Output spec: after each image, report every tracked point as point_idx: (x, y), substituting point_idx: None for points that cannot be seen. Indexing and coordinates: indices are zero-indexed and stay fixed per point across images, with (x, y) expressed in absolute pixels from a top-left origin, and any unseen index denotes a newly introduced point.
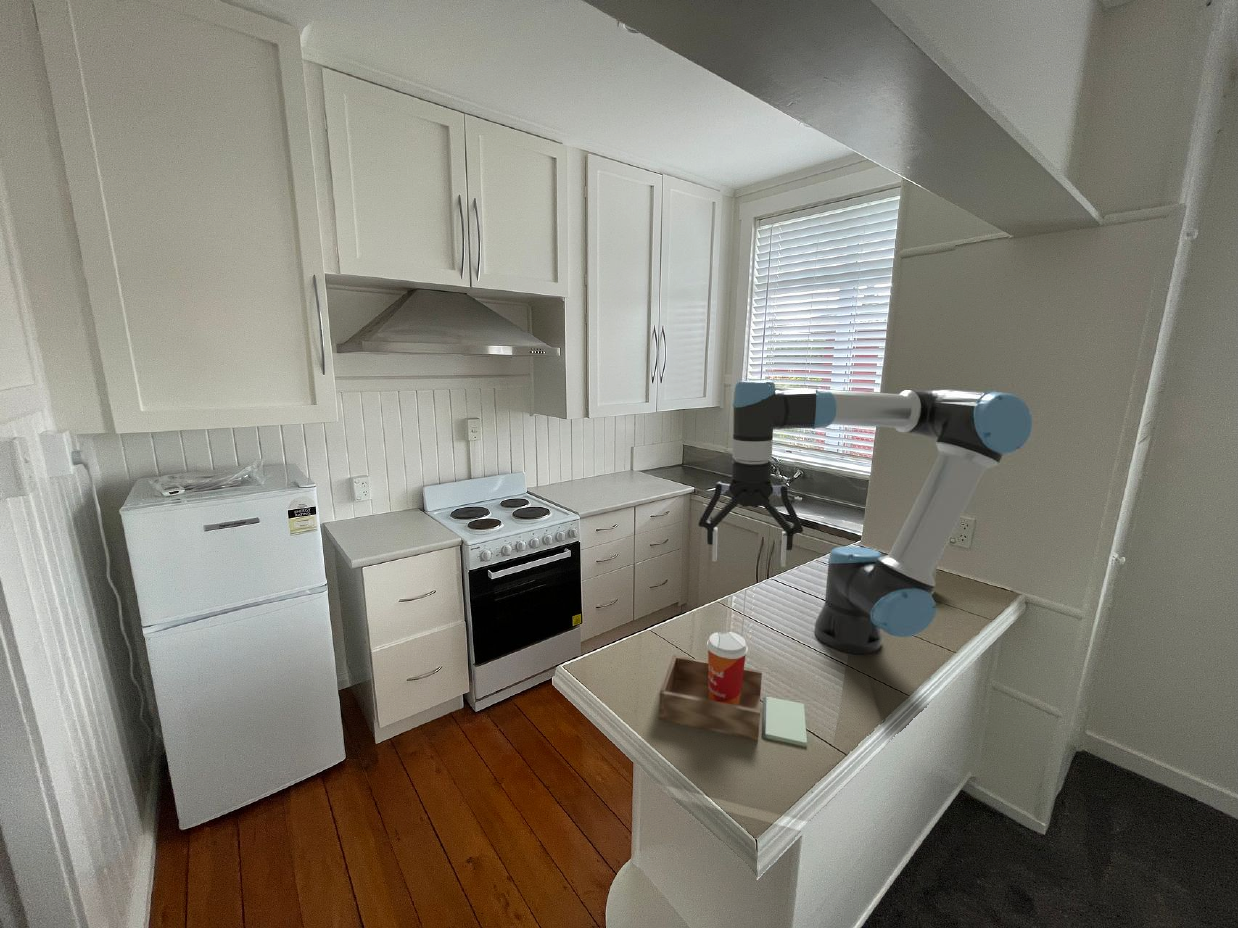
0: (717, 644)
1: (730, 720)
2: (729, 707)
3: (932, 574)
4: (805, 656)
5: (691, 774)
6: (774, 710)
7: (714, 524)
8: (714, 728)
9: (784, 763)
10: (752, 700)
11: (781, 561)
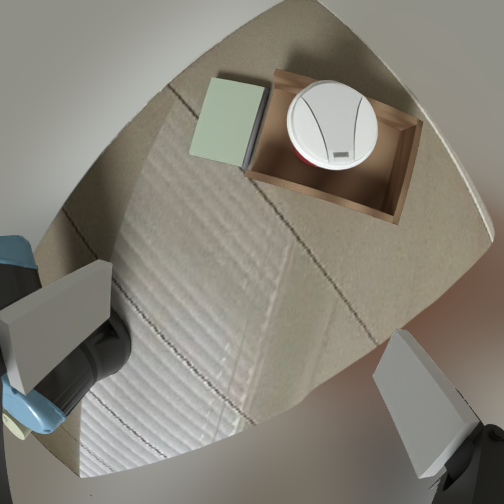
0: (361, 106)
1: None
2: None
3: None
4: (153, 292)
5: (363, 50)
6: (238, 134)
7: (492, 454)
8: None
9: (249, 61)
10: (266, 159)
11: (102, 284)
